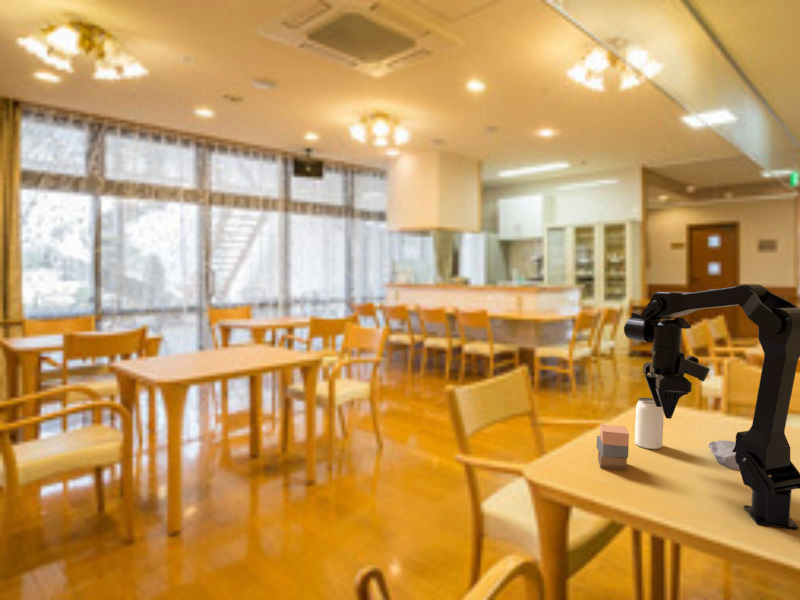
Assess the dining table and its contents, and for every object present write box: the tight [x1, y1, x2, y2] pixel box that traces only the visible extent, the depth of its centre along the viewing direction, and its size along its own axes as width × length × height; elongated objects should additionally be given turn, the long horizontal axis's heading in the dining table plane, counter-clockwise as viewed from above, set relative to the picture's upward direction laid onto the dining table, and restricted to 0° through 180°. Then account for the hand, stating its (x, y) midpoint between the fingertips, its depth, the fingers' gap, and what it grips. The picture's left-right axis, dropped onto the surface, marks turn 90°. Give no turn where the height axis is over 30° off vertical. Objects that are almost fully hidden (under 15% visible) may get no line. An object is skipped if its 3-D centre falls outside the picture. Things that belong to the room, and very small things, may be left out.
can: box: [634, 397, 665, 450], centre depth 126 cm, size 6×6×12 cm
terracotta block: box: [599, 423, 630, 448], centre depth 113 cm, size 6×6×3 cm
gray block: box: [596, 435, 630, 459], centre depth 113 cm, size 6×6×3 cm
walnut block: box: [597, 450, 628, 472], centre depth 113 cm, size 6×6×3 cm
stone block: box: [708, 439, 740, 471], centre depth 116 cm, size 12×5×10 cm
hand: (663, 412), depth 112 cm, fingers open, 9 cm apart
